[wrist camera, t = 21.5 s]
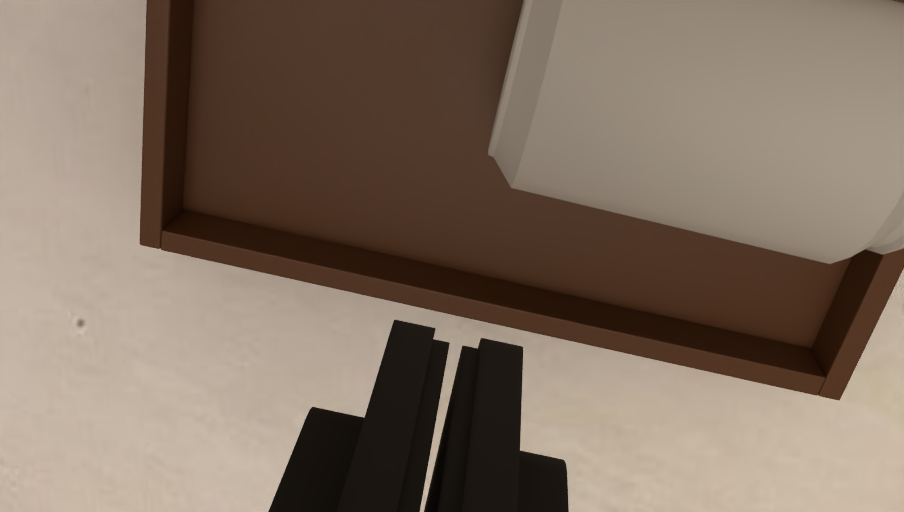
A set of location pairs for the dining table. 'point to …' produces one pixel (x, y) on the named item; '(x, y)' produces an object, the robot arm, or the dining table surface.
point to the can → (715, 117)
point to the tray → (450, 193)
